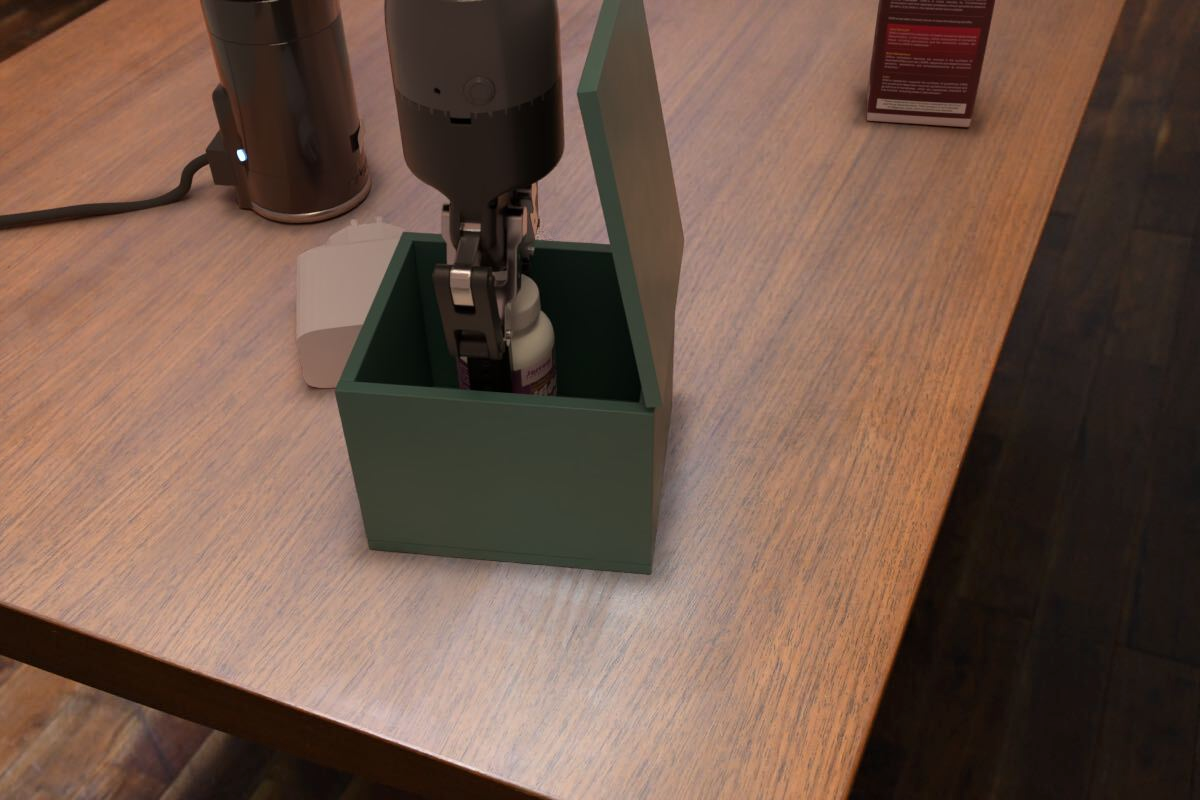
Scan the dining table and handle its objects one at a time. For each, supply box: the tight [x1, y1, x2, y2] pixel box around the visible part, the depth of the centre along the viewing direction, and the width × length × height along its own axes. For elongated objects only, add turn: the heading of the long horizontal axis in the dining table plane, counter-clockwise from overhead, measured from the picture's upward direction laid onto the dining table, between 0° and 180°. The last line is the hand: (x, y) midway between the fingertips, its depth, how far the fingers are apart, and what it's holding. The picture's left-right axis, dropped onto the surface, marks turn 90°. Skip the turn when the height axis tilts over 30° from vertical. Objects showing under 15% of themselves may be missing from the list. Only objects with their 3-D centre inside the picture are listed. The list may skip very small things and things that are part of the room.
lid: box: [576, 0, 685, 408], centre depth 56 cm, size 16×14×1 cm
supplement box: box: [866, 0, 996, 128], centre depth 96 cm, size 9×5×16 cm, turn 80°
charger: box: [295, 215, 408, 389], centre depth 81 cm, size 5×9×15 cm
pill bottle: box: [456, 271, 557, 397], centre depth 65 cm, size 5×5×10 cm
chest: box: [333, 231, 676, 575], centre depth 67 cm, size 16×14×12 cm
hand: (503, 354), depth 65 cm, fingers closed on pill bottle, 5 cm apart
